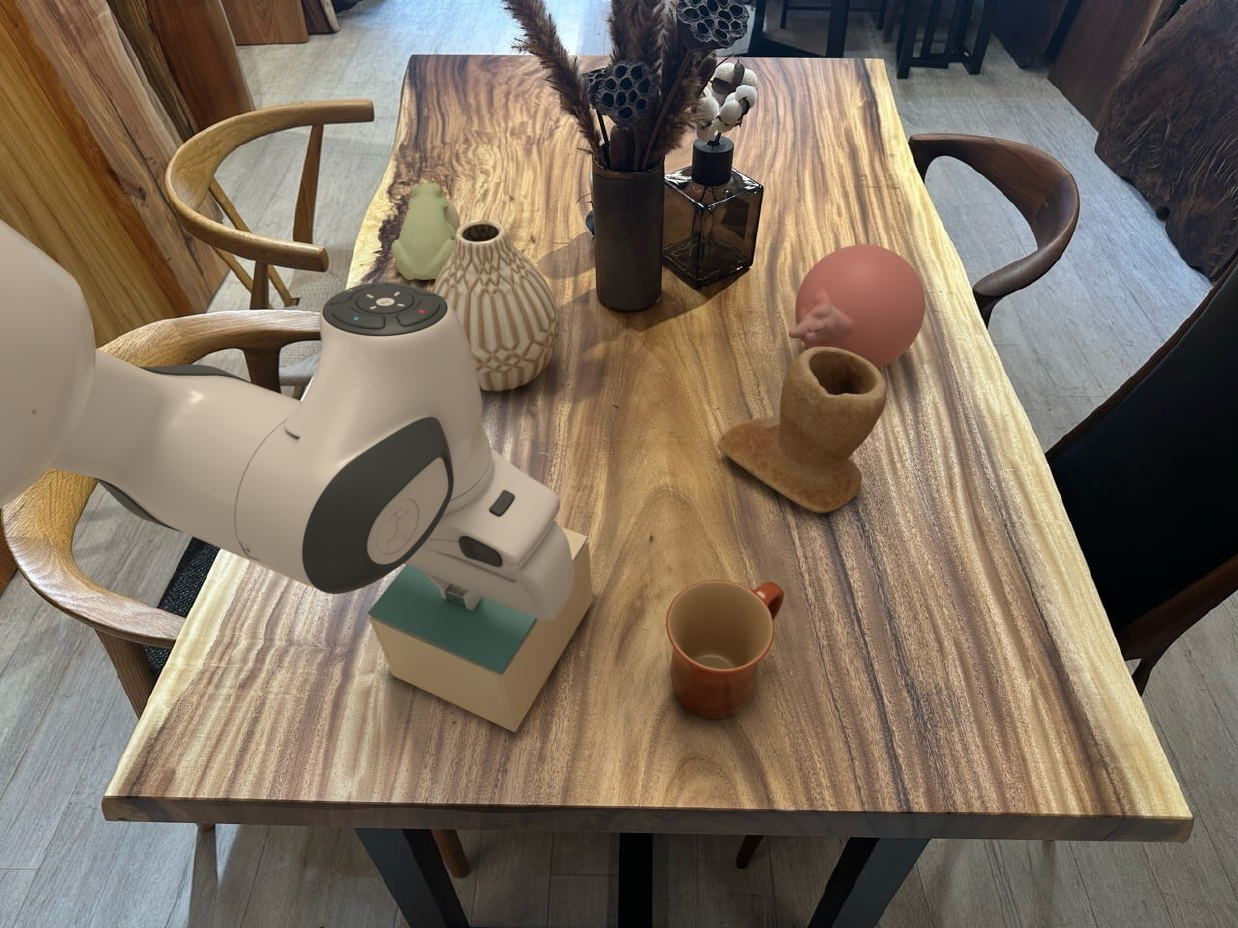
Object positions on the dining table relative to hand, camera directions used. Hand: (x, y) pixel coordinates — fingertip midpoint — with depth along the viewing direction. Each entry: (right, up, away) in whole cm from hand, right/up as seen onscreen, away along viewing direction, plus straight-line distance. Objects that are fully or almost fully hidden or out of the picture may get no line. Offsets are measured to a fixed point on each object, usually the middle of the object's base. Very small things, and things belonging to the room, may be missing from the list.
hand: (463, 598), depth 67 cm
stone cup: (+33, +11, +24) cm, 43 cm away
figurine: (-15, +43, +56) cm, 72 cm away
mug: (+23, -8, +6) cm, 25 cm away
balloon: (+41, +24, +37) cm, 60 cm away
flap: (0, -1, 0) cm, 1 cm away
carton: (+1, -5, +9) cm, 11 cm away
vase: (-2, +23, +37) cm, 44 cm away
